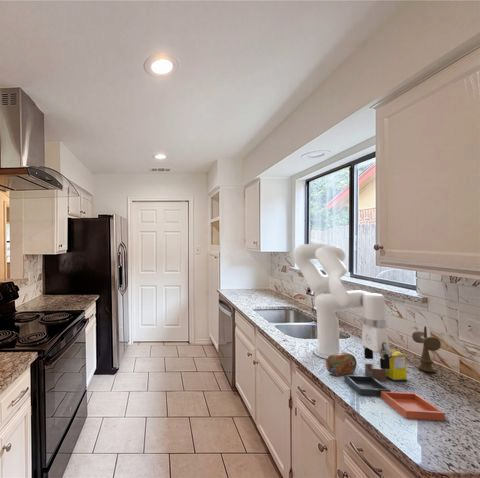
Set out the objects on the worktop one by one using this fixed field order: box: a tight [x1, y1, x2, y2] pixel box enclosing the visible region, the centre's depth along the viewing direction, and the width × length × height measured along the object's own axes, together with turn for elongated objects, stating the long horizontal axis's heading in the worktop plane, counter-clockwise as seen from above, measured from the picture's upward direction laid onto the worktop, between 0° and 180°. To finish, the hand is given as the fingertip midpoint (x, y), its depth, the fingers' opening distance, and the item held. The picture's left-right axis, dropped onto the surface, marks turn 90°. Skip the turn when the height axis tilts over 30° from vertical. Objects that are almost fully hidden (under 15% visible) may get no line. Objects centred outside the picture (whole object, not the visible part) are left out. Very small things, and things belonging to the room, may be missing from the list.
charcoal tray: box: [343, 374, 392, 397], centre depth 105 cm, size 11×11×2 cm
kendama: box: [411, 325, 442, 373], centre depth 119 cm, size 6×10×20 cm, turn 163°
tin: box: [325, 352, 358, 377], centre depth 117 cm, size 15×3×8 cm, turn 105°
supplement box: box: [381, 349, 408, 382], centre depth 113 cm, size 6×6×11 cm
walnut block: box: [364, 363, 387, 382], centre depth 113 cm, size 5×5×5 cm
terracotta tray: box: [380, 391, 446, 422], centre depth 92 cm, size 12×12×2 cm
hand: (376, 363), depth 112 cm, fingers open, 9 cm apart
